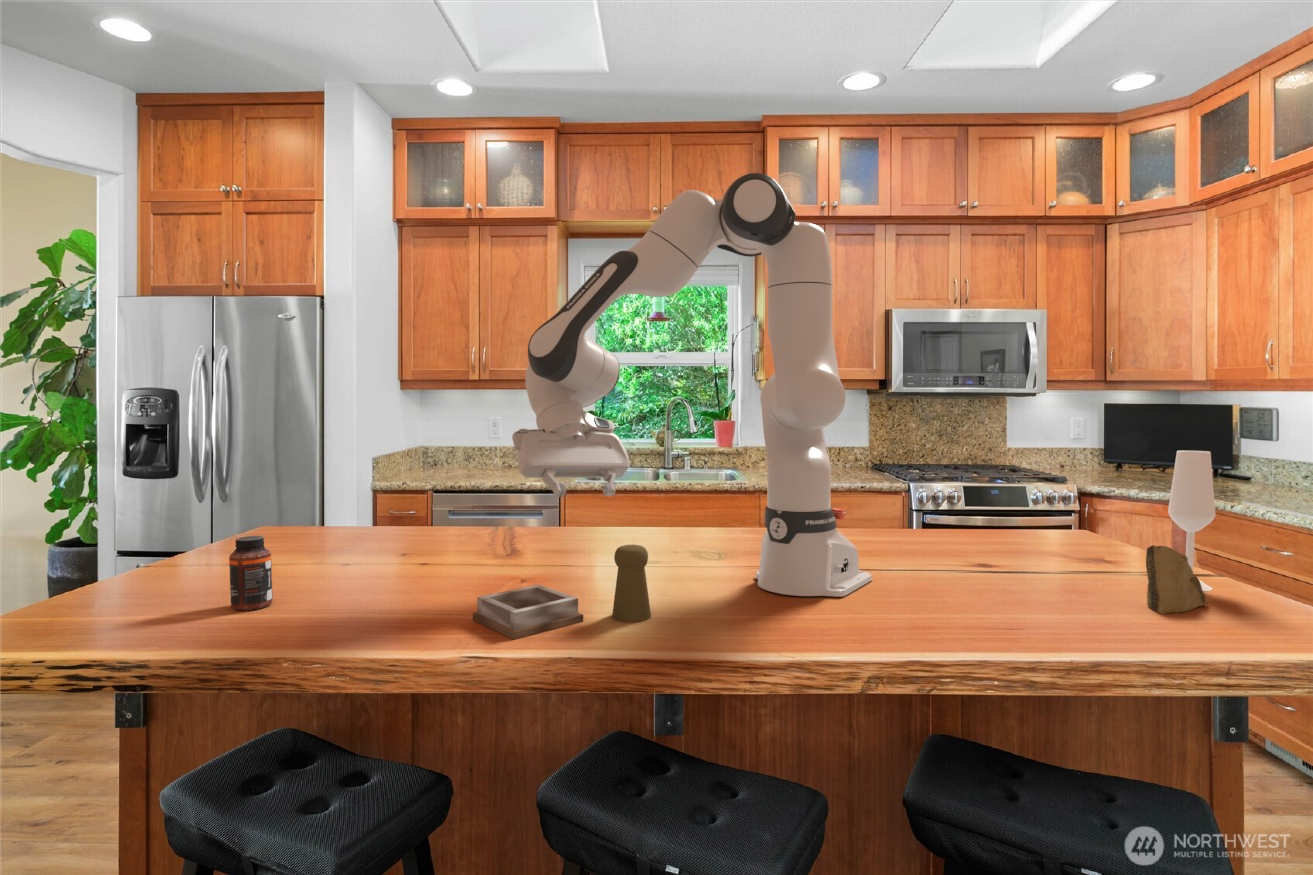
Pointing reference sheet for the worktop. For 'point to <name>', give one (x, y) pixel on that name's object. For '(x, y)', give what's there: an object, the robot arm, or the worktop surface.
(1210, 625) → the worktop surface
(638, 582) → the cork
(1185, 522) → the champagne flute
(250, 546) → the supplement bottle
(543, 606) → the socket mount
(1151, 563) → the rock
